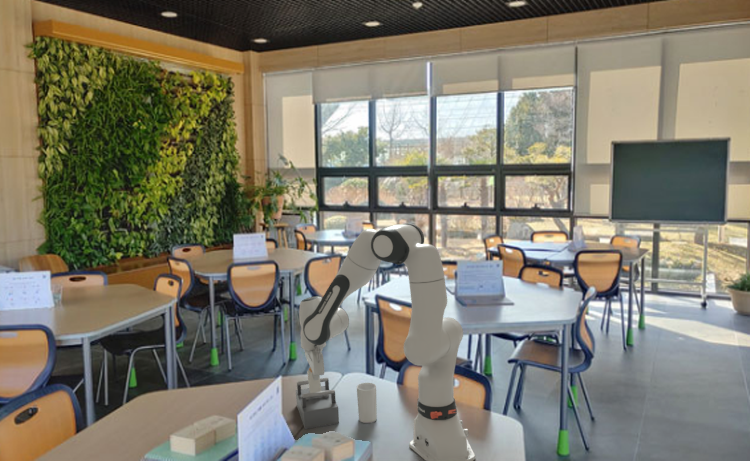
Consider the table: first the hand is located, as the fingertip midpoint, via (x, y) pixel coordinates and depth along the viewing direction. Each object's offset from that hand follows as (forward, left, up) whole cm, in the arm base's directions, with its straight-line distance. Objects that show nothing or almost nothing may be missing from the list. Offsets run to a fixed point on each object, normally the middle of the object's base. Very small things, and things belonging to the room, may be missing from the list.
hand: (315, 378), depth 202 cm
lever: (0, 0, -6) cm, 6 cm away
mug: (-9, -17, -14) cm, 23 cm away
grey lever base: (0, 0, -13) cm, 13 cm away
